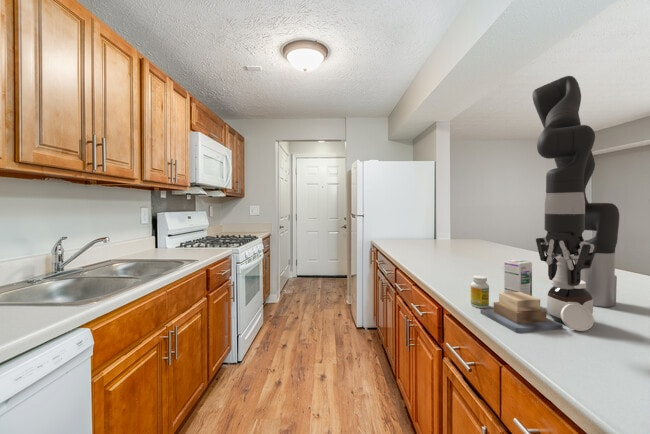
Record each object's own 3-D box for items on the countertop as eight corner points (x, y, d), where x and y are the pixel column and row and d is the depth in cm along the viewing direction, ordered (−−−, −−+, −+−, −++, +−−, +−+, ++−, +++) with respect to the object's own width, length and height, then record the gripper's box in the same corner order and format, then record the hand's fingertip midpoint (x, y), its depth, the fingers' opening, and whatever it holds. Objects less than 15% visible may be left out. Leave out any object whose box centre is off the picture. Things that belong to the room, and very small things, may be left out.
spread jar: (570, 314, 89) (571, 276, 89) (613, 330, 78) (614, 286, 78) (536, 318, 87) (536, 278, 87) (574, 334, 76) (575, 289, 76)
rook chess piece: (547, 285, 74) (547, 253, 74) (563, 284, 75) (564, 252, 74) (562, 290, 70) (563, 256, 69) (580, 289, 70) (581, 255, 70)
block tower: (521, 310, 94) (521, 288, 93) (562, 328, 80) (563, 302, 79) (480, 313, 92) (480, 290, 91) (515, 332, 78) (515, 305, 78)
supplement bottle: (476, 302, 102) (476, 274, 101) (492, 306, 97) (492, 277, 97) (467, 305, 99) (467, 276, 98) (483, 309, 94) (483, 279, 94)
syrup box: (520, 308, 95) (520, 263, 95) (503, 302, 101) (503, 260, 100) (532, 306, 97) (533, 261, 97) (514, 300, 103) (515, 258, 102)
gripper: (610, 212, 65) (608, 290, 66) (551, 210, 79) (550, 274, 80) (580, 213, 64) (579, 292, 64) (525, 211, 78) (525, 276, 79)
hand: (563, 282), depth 72 cm, fingers closed on rook chess piece, 4 cm apart
